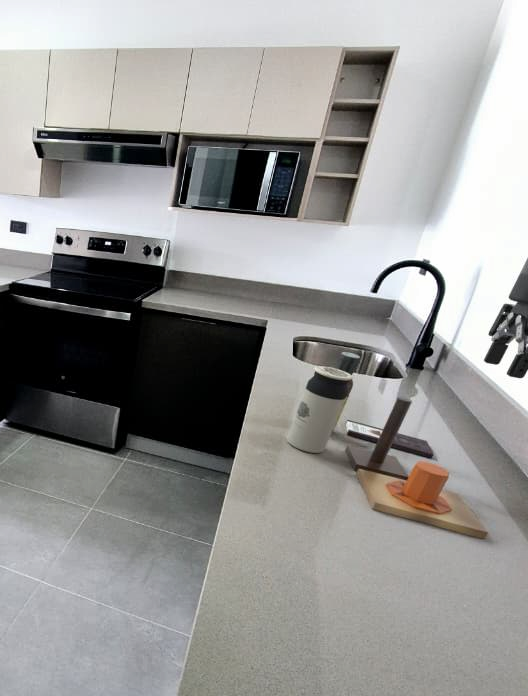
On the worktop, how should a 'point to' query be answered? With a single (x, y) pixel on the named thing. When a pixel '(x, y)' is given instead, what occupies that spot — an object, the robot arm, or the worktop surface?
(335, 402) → the travel mug
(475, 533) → the oak board
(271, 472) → the worktop surface
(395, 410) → the hat stand
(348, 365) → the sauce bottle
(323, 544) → the worktop surface
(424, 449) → the chocolate bar
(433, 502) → the hat
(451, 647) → the worktop surface
